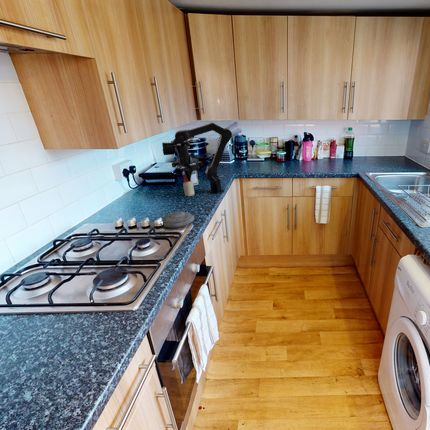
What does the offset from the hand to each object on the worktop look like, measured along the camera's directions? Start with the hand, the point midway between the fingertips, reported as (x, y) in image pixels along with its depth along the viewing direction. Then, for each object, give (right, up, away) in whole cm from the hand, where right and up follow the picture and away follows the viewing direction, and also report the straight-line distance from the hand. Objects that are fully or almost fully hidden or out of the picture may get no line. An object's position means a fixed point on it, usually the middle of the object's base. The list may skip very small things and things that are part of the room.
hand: (187, 180), depth 169 cm
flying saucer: (+8, -25, -33) cm, 42 cm away
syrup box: (-4, 0, +21) cm, 22 cm away
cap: (0, -1, 0) cm, 1 cm away
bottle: (0, -8, +4) cm, 9 cm away
